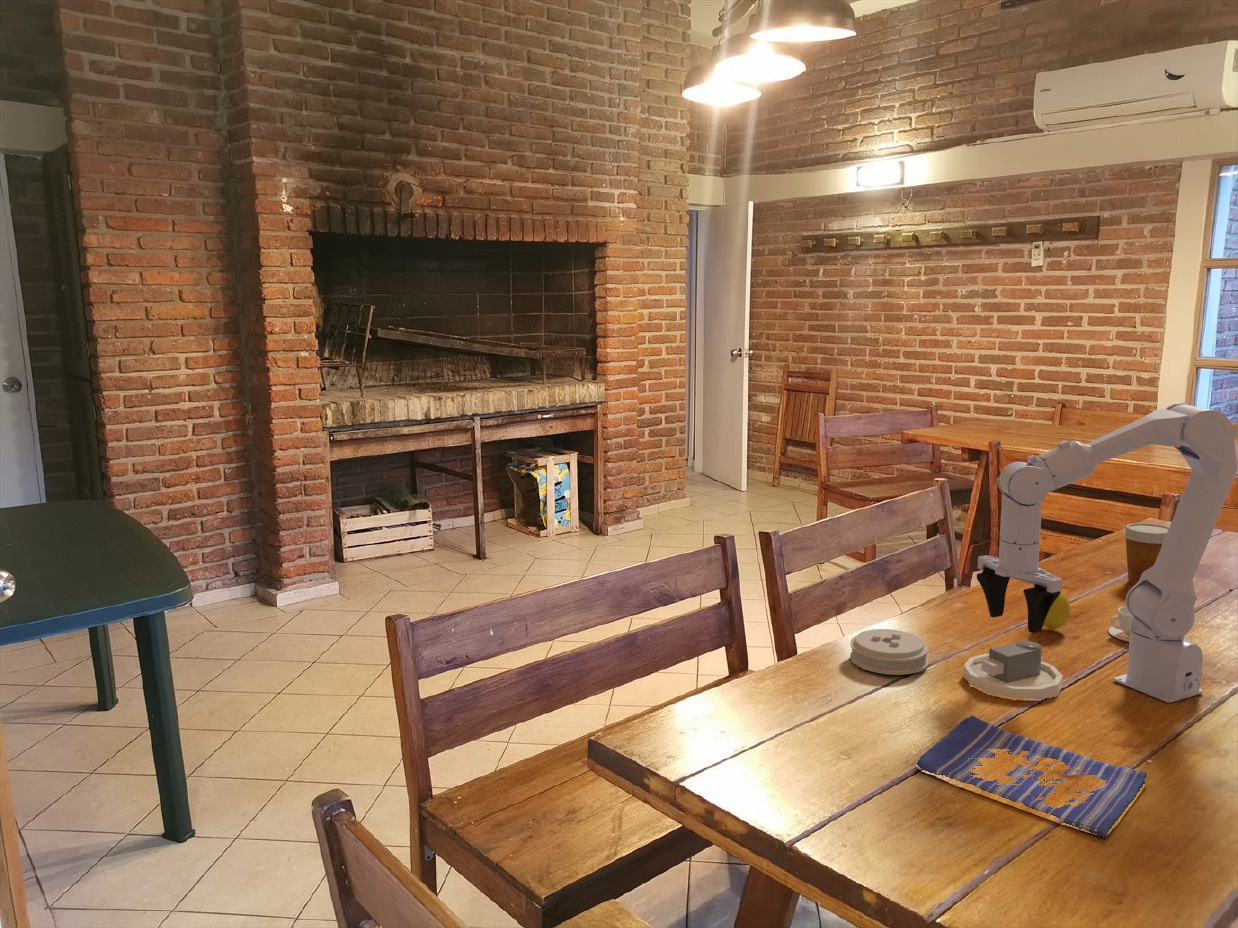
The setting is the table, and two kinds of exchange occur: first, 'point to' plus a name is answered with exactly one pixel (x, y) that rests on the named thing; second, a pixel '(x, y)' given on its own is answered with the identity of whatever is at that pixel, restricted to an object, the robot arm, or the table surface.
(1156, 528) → the disposable coffee cup
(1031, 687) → the plate
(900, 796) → the table surface
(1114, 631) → the teacup
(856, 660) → the lid
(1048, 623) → the lemon
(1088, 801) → the dish towel
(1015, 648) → the connector
